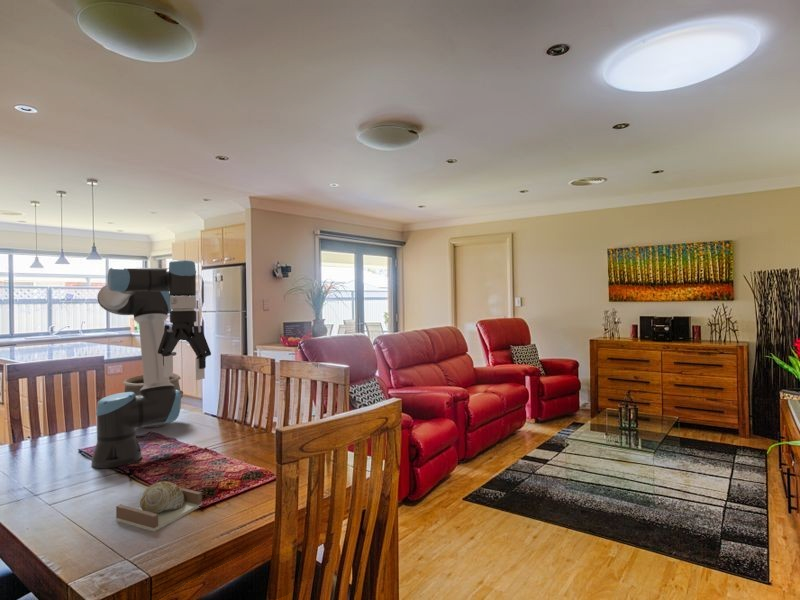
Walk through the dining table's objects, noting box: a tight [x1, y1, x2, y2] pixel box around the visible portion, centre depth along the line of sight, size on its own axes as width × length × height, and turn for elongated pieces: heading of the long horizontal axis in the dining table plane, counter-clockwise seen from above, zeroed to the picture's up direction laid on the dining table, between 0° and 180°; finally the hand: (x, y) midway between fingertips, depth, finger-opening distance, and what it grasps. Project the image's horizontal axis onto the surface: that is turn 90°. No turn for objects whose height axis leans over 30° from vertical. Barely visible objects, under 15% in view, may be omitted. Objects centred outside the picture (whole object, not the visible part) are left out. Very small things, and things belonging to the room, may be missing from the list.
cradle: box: [115, 486, 203, 532], centre depth 125 cm, size 14×15×4 cm
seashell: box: [139, 480, 184, 514], centre depth 125 cm, size 10×10×10 cm
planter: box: [122, 372, 184, 429], centre depth 209 cm, size 25×24×22 cm
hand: (184, 377), depth 145 cm, fingers open, 13 cm apart
